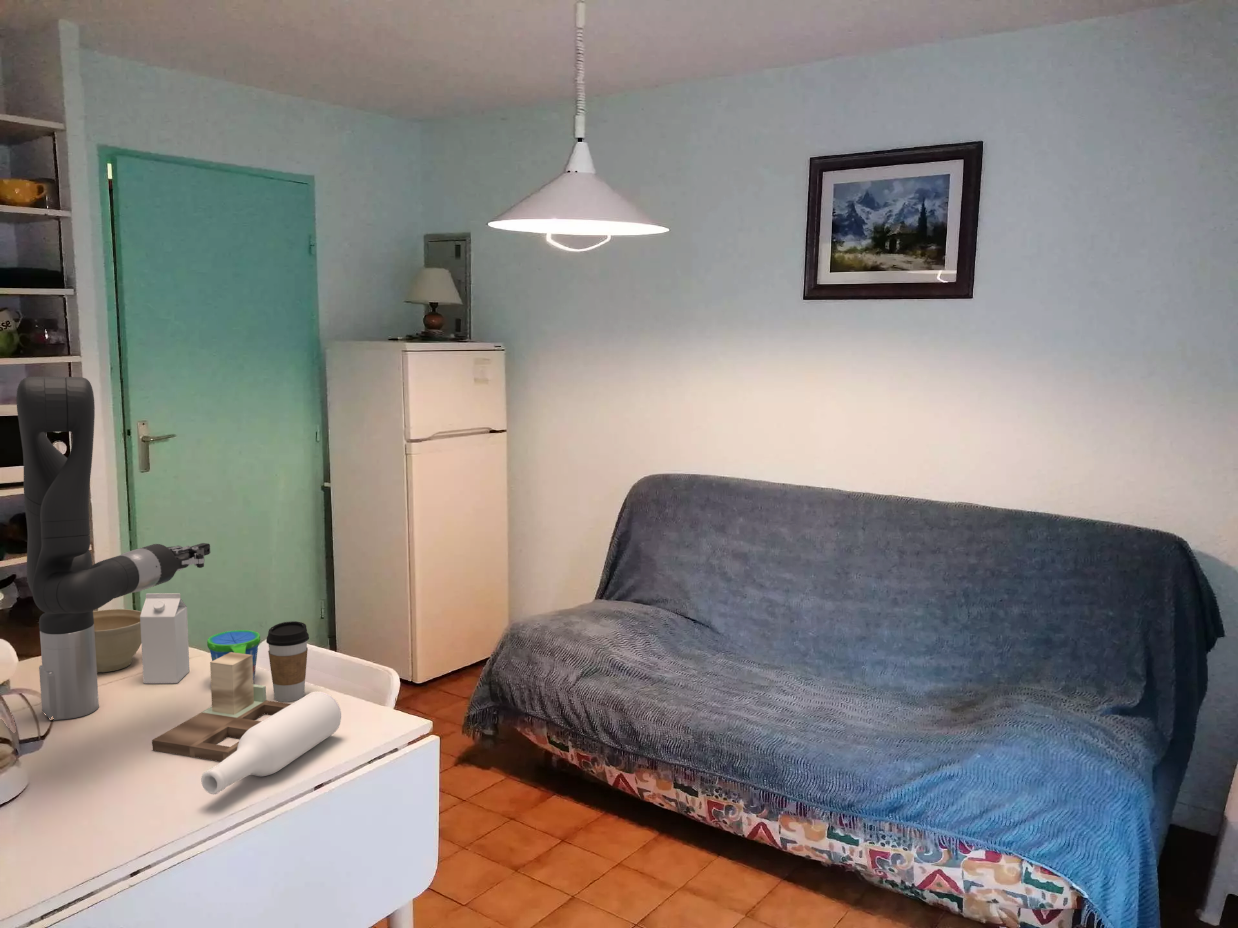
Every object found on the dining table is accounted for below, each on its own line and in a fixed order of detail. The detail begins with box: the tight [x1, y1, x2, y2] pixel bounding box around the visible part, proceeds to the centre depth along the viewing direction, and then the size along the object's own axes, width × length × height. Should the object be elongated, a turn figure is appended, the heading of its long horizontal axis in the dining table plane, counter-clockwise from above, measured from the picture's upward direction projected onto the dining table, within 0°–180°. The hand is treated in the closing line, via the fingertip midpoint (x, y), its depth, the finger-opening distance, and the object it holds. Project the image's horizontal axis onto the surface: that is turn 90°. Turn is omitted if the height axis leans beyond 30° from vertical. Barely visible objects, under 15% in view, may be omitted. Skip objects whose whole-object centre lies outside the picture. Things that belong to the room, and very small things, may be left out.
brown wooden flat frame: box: [151, 699, 292, 763], centre depth 178 cm, size 22×16×2 cm
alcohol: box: [200, 691, 342, 795], centre depth 163 cm, size 9×9×30 cm
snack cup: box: [206, 629, 261, 681], centre depth 202 cm, size 16×10×10 cm
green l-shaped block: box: [202, 683, 267, 718], centre depth 185 cm, size 9×8×5 cm
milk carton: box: [140, 592, 190, 684], centre depth 203 cm, size 7×7×19 cm
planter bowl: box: [93, 608, 142, 674], centre depth 210 cm, size 16×16×11 cm
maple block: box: [209, 652, 254, 715], centre depth 184 cm, size 6×5×10 cm
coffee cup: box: [265, 620, 310, 703], centre depth 194 cm, size 8×8×15 cm
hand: (206, 548), depth 188 cm, fingers closed
